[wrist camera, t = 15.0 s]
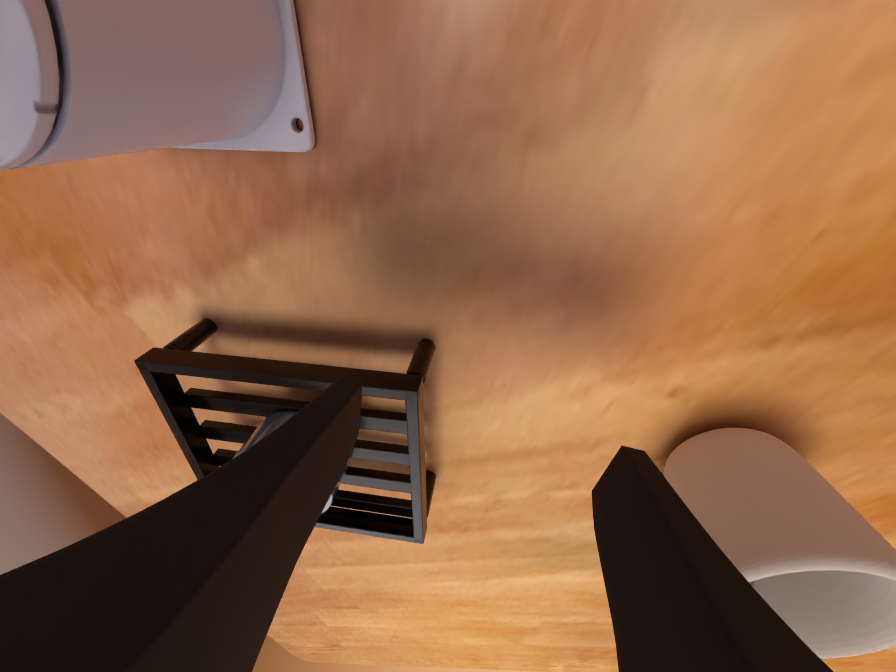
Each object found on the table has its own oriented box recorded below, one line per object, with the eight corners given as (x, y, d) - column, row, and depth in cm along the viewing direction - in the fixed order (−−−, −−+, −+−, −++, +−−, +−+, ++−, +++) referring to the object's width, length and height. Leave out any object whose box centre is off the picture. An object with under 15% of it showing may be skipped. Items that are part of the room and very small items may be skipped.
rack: (198, 315, 22) (133, 360, 18) (435, 337, 20) (417, 391, 16) (253, 456, 28) (214, 511, 25) (436, 481, 27) (423, 544, 23)
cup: (883, 462, 20) (1067, 642, 14) (761, 532, 24) (855, 694, 18) (711, 386, 19) (817, 539, 13) (616, 473, 24) (657, 621, 17)
